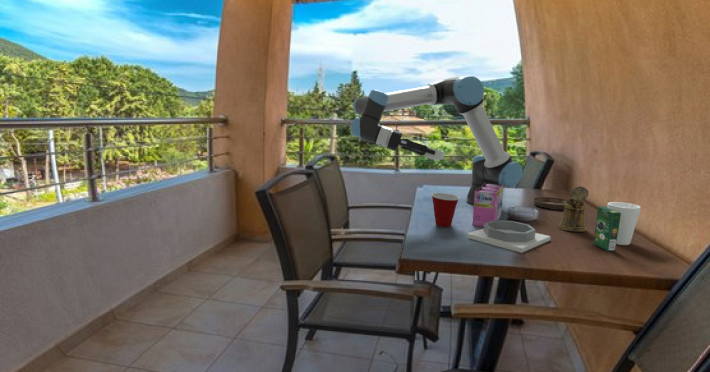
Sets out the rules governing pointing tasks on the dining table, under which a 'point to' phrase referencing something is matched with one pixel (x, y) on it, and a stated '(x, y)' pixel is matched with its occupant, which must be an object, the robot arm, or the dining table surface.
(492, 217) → the gum box
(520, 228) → the cup holder
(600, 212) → the coffee box
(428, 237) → the dining table surface
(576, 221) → the wooden mug
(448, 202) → the plastic cup
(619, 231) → the foam cup
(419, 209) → the dining table surface
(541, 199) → the plant saucer
